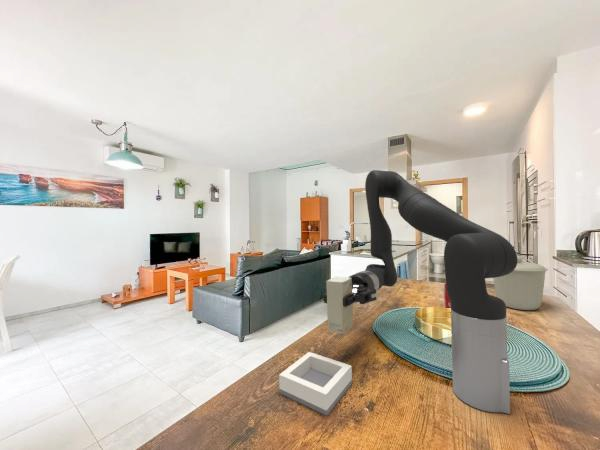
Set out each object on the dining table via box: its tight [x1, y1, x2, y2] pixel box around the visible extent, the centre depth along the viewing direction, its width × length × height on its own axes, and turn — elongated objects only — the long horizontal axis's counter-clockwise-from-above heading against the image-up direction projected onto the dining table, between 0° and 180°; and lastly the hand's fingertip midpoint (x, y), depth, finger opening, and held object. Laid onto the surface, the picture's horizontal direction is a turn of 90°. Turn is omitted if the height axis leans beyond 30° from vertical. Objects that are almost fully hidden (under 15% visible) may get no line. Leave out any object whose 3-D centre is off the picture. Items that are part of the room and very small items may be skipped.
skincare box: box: [325, 276, 354, 335], centre depth 62 cm, size 6×4×12 cm
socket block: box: [278, 351, 353, 417], centre depth 55 cm, size 12×12×4 cm
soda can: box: [443, 281, 451, 309], centre depth 100 cm, size 7×7×12 cm
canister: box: [492, 254, 549, 311], centre depth 104 cm, size 18×18×21 cm
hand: (334, 300), depth 59 cm, fingers closed on skincare box, 4 cm apart
